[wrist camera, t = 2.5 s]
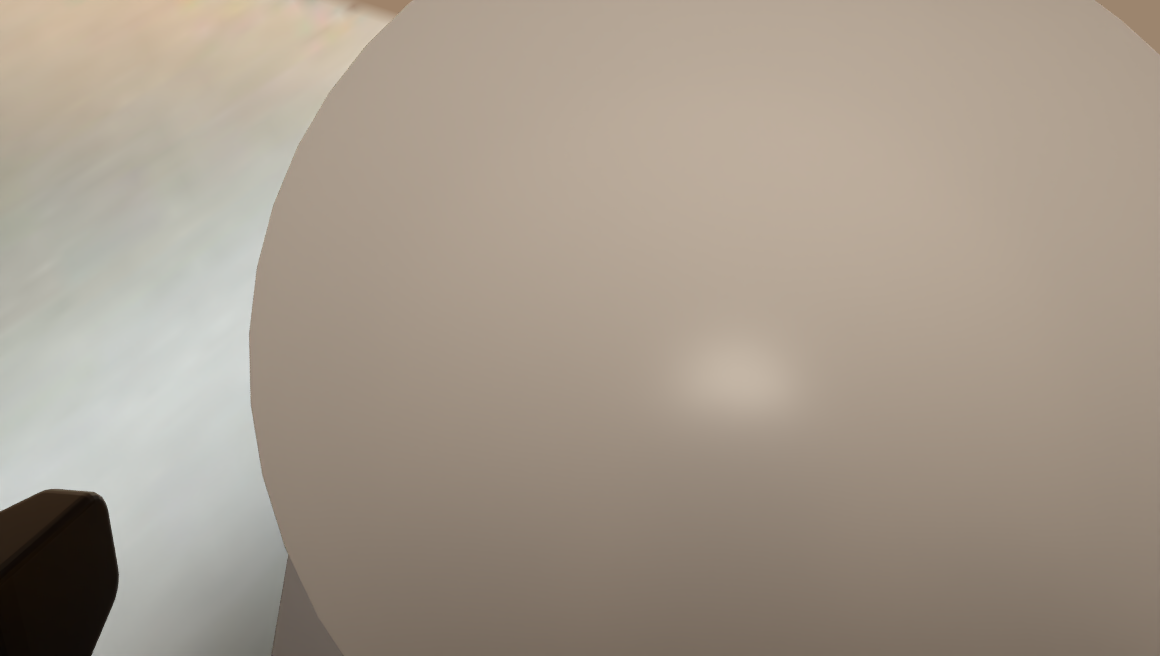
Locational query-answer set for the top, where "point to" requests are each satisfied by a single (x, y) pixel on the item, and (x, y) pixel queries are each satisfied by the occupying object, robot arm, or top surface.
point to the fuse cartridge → (723, 332)
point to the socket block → (300, 622)
